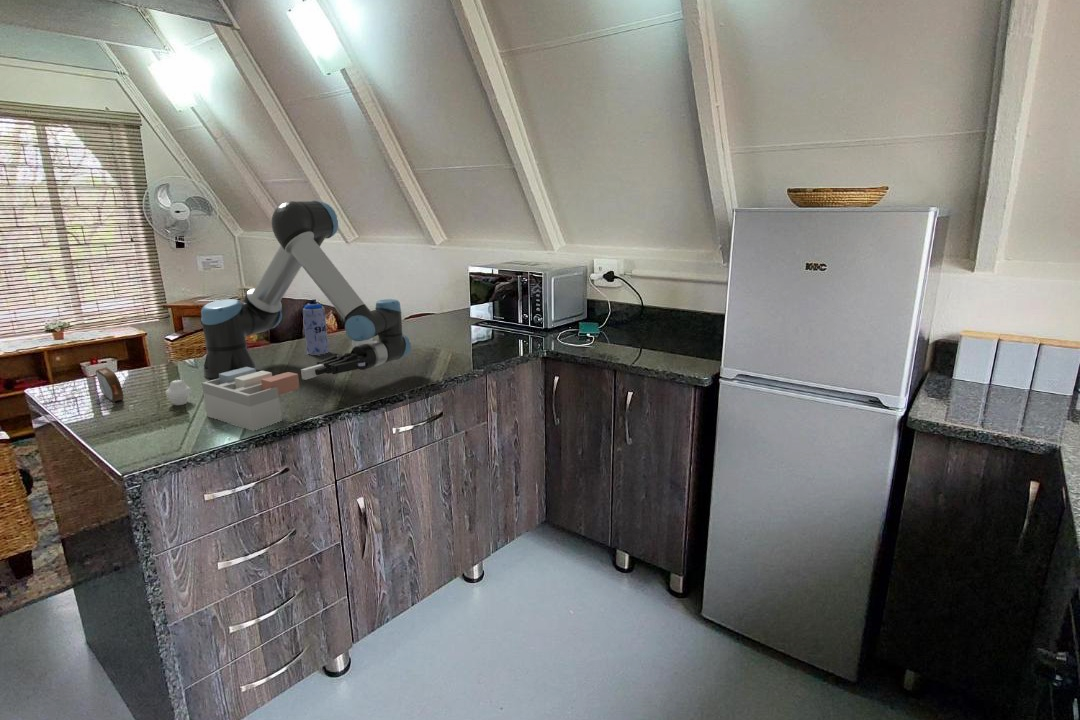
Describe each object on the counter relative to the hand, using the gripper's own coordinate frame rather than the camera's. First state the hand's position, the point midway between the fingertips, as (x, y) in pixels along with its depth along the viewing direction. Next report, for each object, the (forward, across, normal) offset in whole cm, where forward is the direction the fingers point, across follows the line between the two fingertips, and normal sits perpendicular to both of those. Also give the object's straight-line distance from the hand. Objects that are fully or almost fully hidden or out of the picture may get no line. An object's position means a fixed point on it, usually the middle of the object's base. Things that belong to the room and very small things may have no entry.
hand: (303, 374), depth 160 cm
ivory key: (+11, +5, -2) cm, 12 cm away
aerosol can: (-40, +45, -9) cm, 61 cm away
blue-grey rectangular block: (+11, +12, -2) cm, 17 cm away
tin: (+25, +54, -9) cm, 60 cm away
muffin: (+17, +32, -9) cm, 37 cm away
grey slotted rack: (+15, +6, -9) cm, 18 cm away
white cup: (-48, +30, -9) cm, 58 cm away
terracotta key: (+8, -2, -2) cm, 9 cm away
